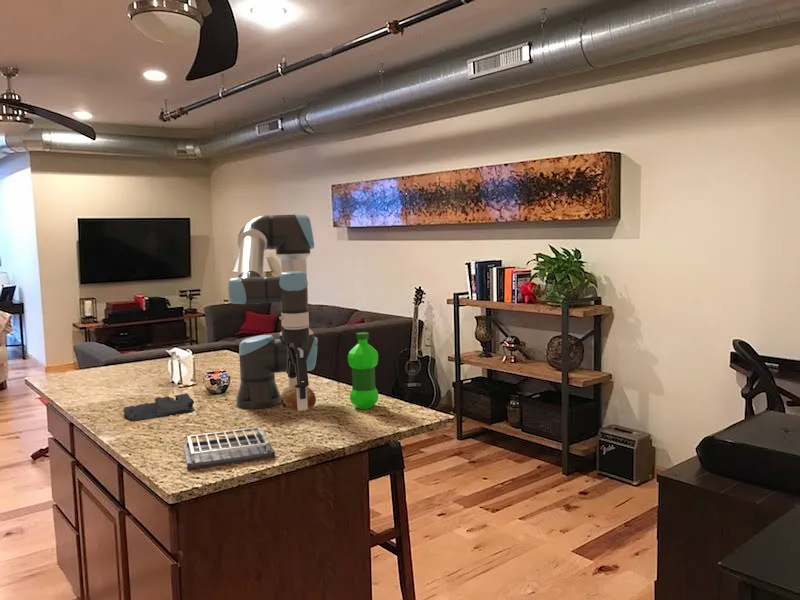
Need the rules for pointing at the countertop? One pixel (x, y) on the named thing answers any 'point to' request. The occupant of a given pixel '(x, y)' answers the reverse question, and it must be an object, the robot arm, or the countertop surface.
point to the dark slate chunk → (160, 408)
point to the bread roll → (295, 398)
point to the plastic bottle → (363, 373)
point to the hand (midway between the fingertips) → (298, 404)
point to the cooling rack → (227, 449)
